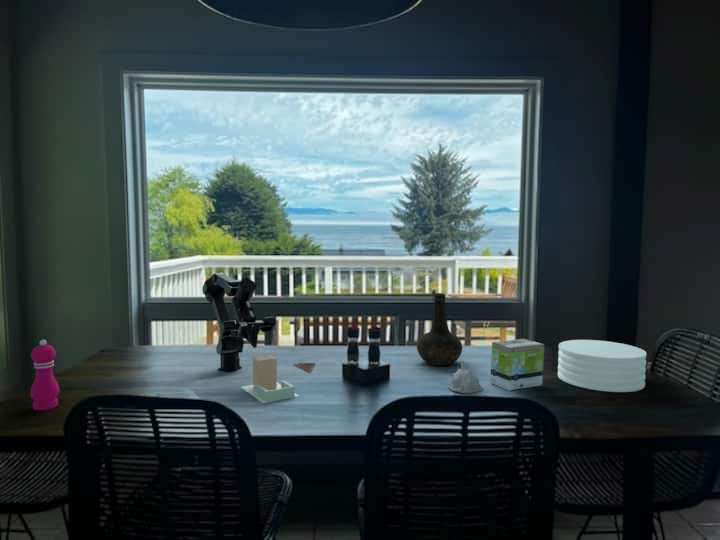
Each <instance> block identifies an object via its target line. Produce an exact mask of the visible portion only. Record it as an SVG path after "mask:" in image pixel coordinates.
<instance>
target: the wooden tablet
mask: <svg viewBox="0 0 720 540" xmlns="http://www.w3.org/2000/svg"><path fill="white" fill-rule="evenodd" d="M315 365H316V363H315V362H304V363H303V362H299V363H298V364H296V363H294V364H292V366H293V367H295V368H297V369H300V370H301V371H304V372H306V373H308V374H311V372H312V371H313V369H314V367H315Z"/></svg>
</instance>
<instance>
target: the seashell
mask: <svg viewBox="0 0 720 540" xmlns="http://www.w3.org/2000/svg"><path fill="white" fill-rule="evenodd" d="M460 364H461V365H460V366H461V367H460V368H457V370H456V372H455V373H453V372H452V373H451V377H452V380H451V384H452V385H451V384H449V385H448V387H447V388H448V389H449V390H450V391H453V392H456V393H461V394H473V393H474V394H475V393H478V392H481V391H483V390H484V388H483V387H482V386H481V384H480V381H479V378H478V376H477V375H475V374H474V373H473V372H472V370H471V368H470V367H468V368H467V367H466V365H465V362H464V360H461V363H460Z"/></svg>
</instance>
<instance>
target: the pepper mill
mask: <svg viewBox="0 0 720 540" xmlns="http://www.w3.org/2000/svg"><path fill="white" fill-rule="evenodd" d="M56 355H57V353H56V349H55V348H54V346H52V345H50V344H48V342H47V340H46V339H42V340H40V341H39V345H37V346H36V347H33V349H32V351H31V353H30V356H31V359H32V360H33V368H34V369H35V378H34V381H33V384H32V386H31V389H30V397H31V399H32V400H33V402H32V408H33V410H35V411H47V410H51V409H54V408H57V407H58V405H59V399H58V396H59V394H60V386H59V383H58V381H57V380H56V378H55V376H54V372H53V367H54V366H55V360H54V358H55V357H56Z"/></svg>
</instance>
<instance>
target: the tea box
mask: <svg viewBox="0 0 720 540" xmlns="http://www.w3.org/2000/svg"><path fill="white" fill-rule="evenodd" d="M544 357H545V344H544V343H541V342H538V341H537V342H536V341H533V340H529V339H527V338H526V339H525V338H519V339H518V338H517V339H510V340H499V341H492V344H491V358H490V359H491V360H490V374H489V375H490V378H489V379H490V380H489V381H490V384H491V385H494V386H496V387H499V388H502V389H504V390H507V391H513V390H520V389H526V388H533V387H540V386H543V379H544V378H543V375H544V374H543V373H544V359H545V358H544Z"/></svg>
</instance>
